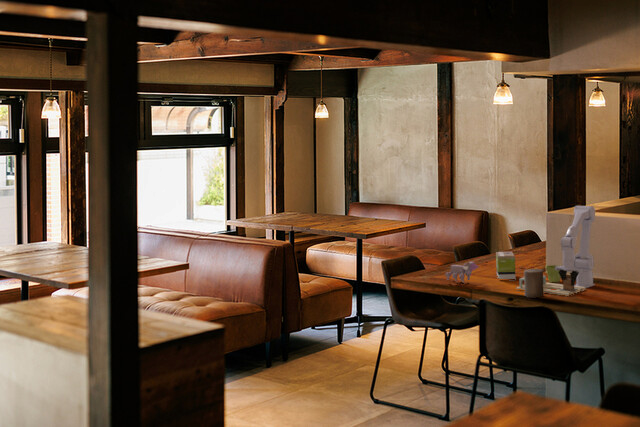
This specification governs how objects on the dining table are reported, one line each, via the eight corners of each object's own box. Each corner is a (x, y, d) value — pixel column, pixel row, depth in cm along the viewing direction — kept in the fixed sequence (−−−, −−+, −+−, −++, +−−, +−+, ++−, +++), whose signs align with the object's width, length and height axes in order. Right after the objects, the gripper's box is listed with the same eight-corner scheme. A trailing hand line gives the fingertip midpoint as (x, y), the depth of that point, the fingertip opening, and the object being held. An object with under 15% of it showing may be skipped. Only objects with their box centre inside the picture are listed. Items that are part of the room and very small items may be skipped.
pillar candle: (547, 296, 415) (546, 268, 413) (530, 298, 412) (530, 270, 410) (537, 293, 424) (536, 265, 422) (520, 295, 421) (520, 267, 420)
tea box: (496, 275, 476) (495, 251, 474) (513, 275, 475) (512, 251, 473) (498, 280, 461) (497, 255, 460) (516, 280, 460) (515, 255, 458)
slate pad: (565, 287, 427) (565, 287, 427) (578, 289, 422) (578, 288, 422) (559, 290, 422) (559, 289, 422) (571, 291, 417) (571, 291, 417)
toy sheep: (484, 284, 452) (483, 261, 450) (474, 288, 445) (473, 264, 443) (454, 281, 466) (452, 258, 464) (444, 285, 458) (442, 262, 456)
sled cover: (532, 282, 444) (532, 272, 443) (546, 284, 438) (545, 274, 438) (519, 287, 433) (519, 276, 433) (532, 288, 428) (532, 278, 427)
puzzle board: (534, 283, 448) (534, 281, 448) (585, 289, 428) (585, 287, 427) (516, 290, 434) (516, 287, 434) (567, 296, 413) (567, 293, 413)
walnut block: (566, 287, 425) (566, 278, 425) (574, 288, 422) (574, 279, 422) (563, 289, 422) (563, 279, 422) (570, 290, 419) (570, 280, 419)
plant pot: (556, 284, 445) (556, 268, 444) (542, 282, 452) (542, 267, 451) (566, 281, 452) (565, 266, 451) (551, 279, 459) (551, 264, 458)
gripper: (552, 259, 423) (552, 284, 424) (577, 261, 413) (578, 287, 414) (558, 257, 428) (558, 282, 429) (584, 259, 418) (584, 285, 419)
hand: (568, 284), depth 422 cm, fingers closed on walnut block, 4 cm apart
